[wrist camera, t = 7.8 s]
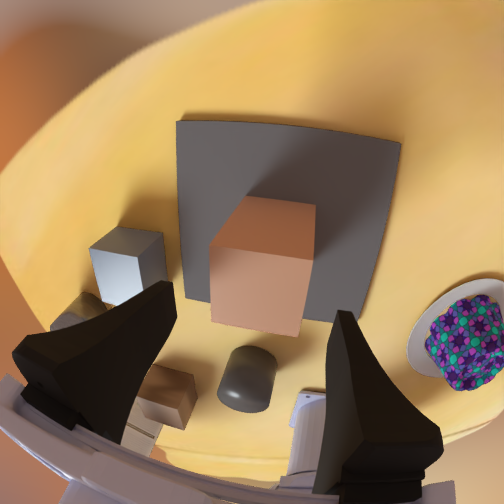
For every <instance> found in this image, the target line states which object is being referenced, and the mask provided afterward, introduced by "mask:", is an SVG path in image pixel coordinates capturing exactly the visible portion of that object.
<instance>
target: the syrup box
mask: <svg viewBox="0 0 504 504" xmlns="http://www.w3.org/2000/svg"><path fill="white" fill-rule="evenodd" d="M162 427H163V424H162V423H159V422H156V421H153V420H150V419H147V418H145V416H144V414H143V412H142V410H141V408H140V406H139V404H138V402H137V399H135V401H134V404H133V406H132V409H131V412H130V415H129V418H128V421H127V424H126V427H125V430H124V434H123V437H122V441H121V445H120V446H123V447H125V448H127V449H130V450H132V451H134V452H137V453H139V454H142V455H144V456H147V457H149V456H150V453H151V452H152V449H153V447H154V445H155V442H156V440H157V438H158V436H159V433H160V431H161V429H162Z"/></svg>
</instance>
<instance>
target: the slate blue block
mask: <svg viewBox="0 0 504 504" xmlns="http://www.w3.org/2000/svg"><path fill="white" fill-rule="evenodd" d="M89 251H90V256H91V260H92V264H93V268H94V272H95V276H96V280H97V284H98V287H99V291H100V295H101V298H102V301H103V302H106V303H110V304H113V305H116V306H118V305H119V304H121V303H123V302H125V301H127V300H128V299H130V298H132V297H133V296H135V295H137V294H138V293H140V292H141V291H143V290H145V289H146V288H148V287H150V286H151V285H153V284H155V283H156V282H158V281H160V280H163V281H168V277H167V268H166V260H165V250H164V240H163V233H160V232H153V231H146V230H138V229H131V228H124V227H115V228H114V229H113V230H111V231H110V232H109V233H108V234H106V235H105V236H104V237H102V238H101V239H100V240H98V241H97V242H96V243H95V244H93V245H92V246H91V247H90V248H89Z"/></svg>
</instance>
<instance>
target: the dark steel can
mask: <svg viewBox="0 0 504 504" xmlns="http://www.w3.org/2000/svg"><path fill="white" fill-rule="evenodd" d="M107 311H108V310H107V308H106V306H105V305H104V304H103V303H102V301H101V300H100V299H98V298H97V297H96V296H95V295H93V294H91V293H88V292H83V293H81V294H80V295H79V296H78V297H77V298H76V299H75V300H74V301H73V302H72V303H71V304H70V305H69V306H68V307H67V308H66V309H65V310H64V312H63V313H62V314H61V315H60V316H59V317H58V318H57V319H56V320H55V321H54V322H53V323H52V324H51V325H50V331H55V330H59V329H62V328H66V327H69V326H72V325H75V324H78V323H81V322H84V321H87V320H89V319H91V318H94V317H96V316H98V315H100V314H102V313H105V312H107Z"/></svg>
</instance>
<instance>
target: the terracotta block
mask: <svg viewBox="0 0 504 504" xmlns="http://www.w3.org/2000/svg"><path fill="white" fill-rule="evenodd" d="M315 212H316V205H313V204H306V203H299V202H292V201H284V200H277V199H269V198H261V197H252V196H245V197H244V198H243V199H242V201H241V202H240V204H239V205H238V206H237V208H236V209H235V210H234V212H233V213H232V214H231V216H230V217H229V218H228V220H227V221H226V222H225V224H224V225H223V227H222V228H221V229H220V231H219V232H218V233H217V235H216V236H215V238H214V239H213V240H212V242H211V243H210V244H209V265H210V299H211V322H215V323H220V324H225V325H230V326H235V327H240V328H245V329H251V330H256V331H262V332H268V333H274V334H280V335H286V336H292V337H298V335H299V330H300V326H301V321H302V316H303V311H304V307H305V302H306V297H307V292H308V286H309V281H310V276H311V271H312V265H313V257H314V238H315Z"/></svg>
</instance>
